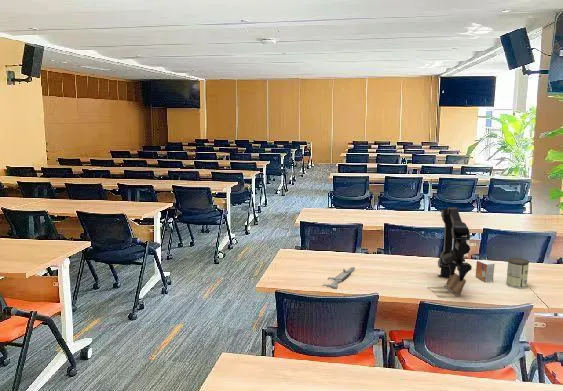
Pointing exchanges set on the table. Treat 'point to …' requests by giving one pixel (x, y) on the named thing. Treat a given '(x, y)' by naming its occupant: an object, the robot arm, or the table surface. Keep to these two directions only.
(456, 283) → the leaf
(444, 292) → the base leaf
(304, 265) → the table surface
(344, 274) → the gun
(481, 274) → the small box
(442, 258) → the robot arm
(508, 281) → the coffee can
